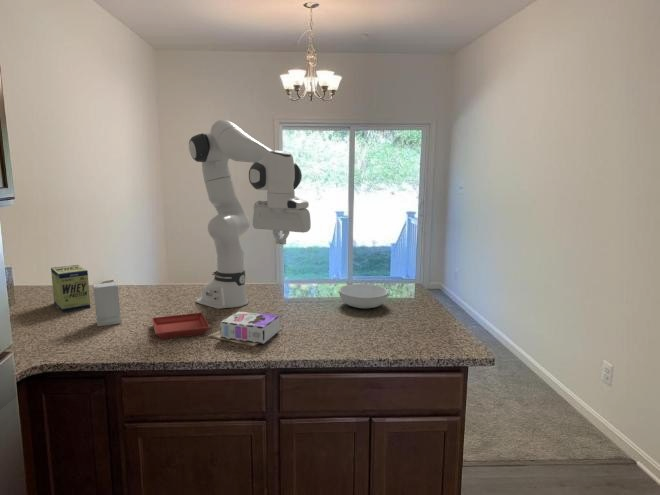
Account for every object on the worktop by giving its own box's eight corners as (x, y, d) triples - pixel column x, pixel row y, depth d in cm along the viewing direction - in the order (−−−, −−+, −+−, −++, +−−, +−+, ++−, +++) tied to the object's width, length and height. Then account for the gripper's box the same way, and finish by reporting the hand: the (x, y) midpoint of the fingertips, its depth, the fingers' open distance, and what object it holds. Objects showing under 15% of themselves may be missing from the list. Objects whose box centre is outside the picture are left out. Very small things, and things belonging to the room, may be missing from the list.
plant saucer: (152, 325, 172) (151, 317, 172) (202, 320, 180) (202, 311, 179) (155, 342, 156) (155, 333, 156) (210, 335, 163) (210, 326, 163)
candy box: (264, 327, 153) (219, 321, 157) (264, 344, 154) (219, 338, 158) (280, 314, 166) (238, 310, 170) (280, 330, 167) (238, 325, 171)
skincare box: (120, 319, 178) (118, 281, 175) (121, 324, 172) (119, 284, 170) (96, 322, 174) (93, 283, 172) (96, 327, 169) (93, 287, 166)
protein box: (62, 312, 184) (59, 274, 182) (53, 303, 196) (50, 267, 193) (91, 307, 191) (88, 270, 188) (80, 299, 203) (78, 264, 200)
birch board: (209, 337, 161) (209, 335, 161) (241, 321, 177) (241, 320, 177) (253, 346, 154) (253, 344, 154) (282, 329, 170) (282, 327, 170)
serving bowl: (331, 309, 195) (331, 293, 194) (348, 296, 214) (348, 281, 213) (379, 315, 188) (380, 299, 186) (392, 302, 207) (393, 287, 205)
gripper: (248, 200, 153) (249, 242, 155) (303, 204, 144) (303, 248, 147) (259, 199, 159) (259, 240, 161) (313, 202, 150) (312, 245, 152)
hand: (281, 244), depth 154 cm, fingers closed
